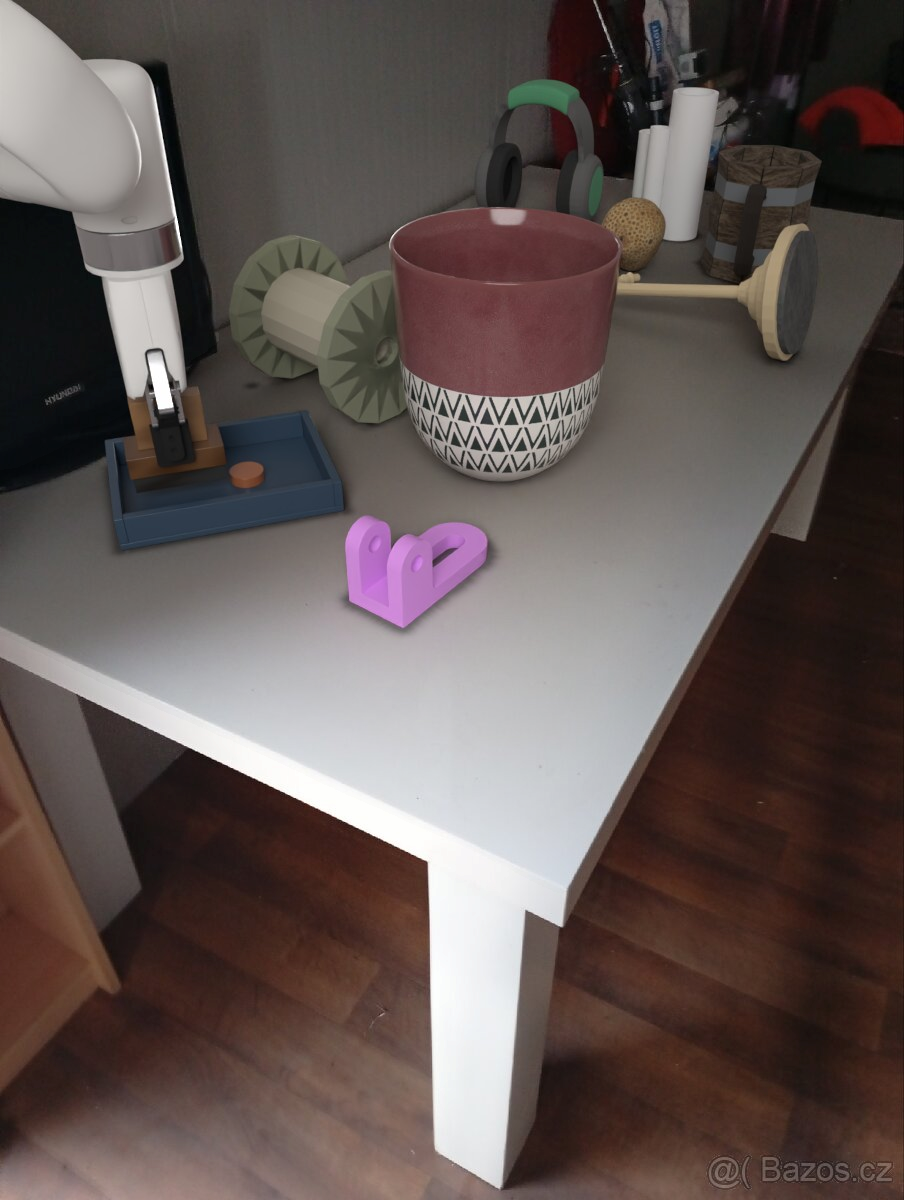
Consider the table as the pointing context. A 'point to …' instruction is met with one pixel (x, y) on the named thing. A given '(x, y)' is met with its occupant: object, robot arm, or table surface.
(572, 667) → the table surface
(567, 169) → the headphones
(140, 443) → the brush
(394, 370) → the spool
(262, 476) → the orange disc
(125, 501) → the tray
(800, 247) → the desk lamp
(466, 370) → the planter
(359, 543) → the bracket
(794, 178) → the mug
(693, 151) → the vase
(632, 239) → the natural sponge
